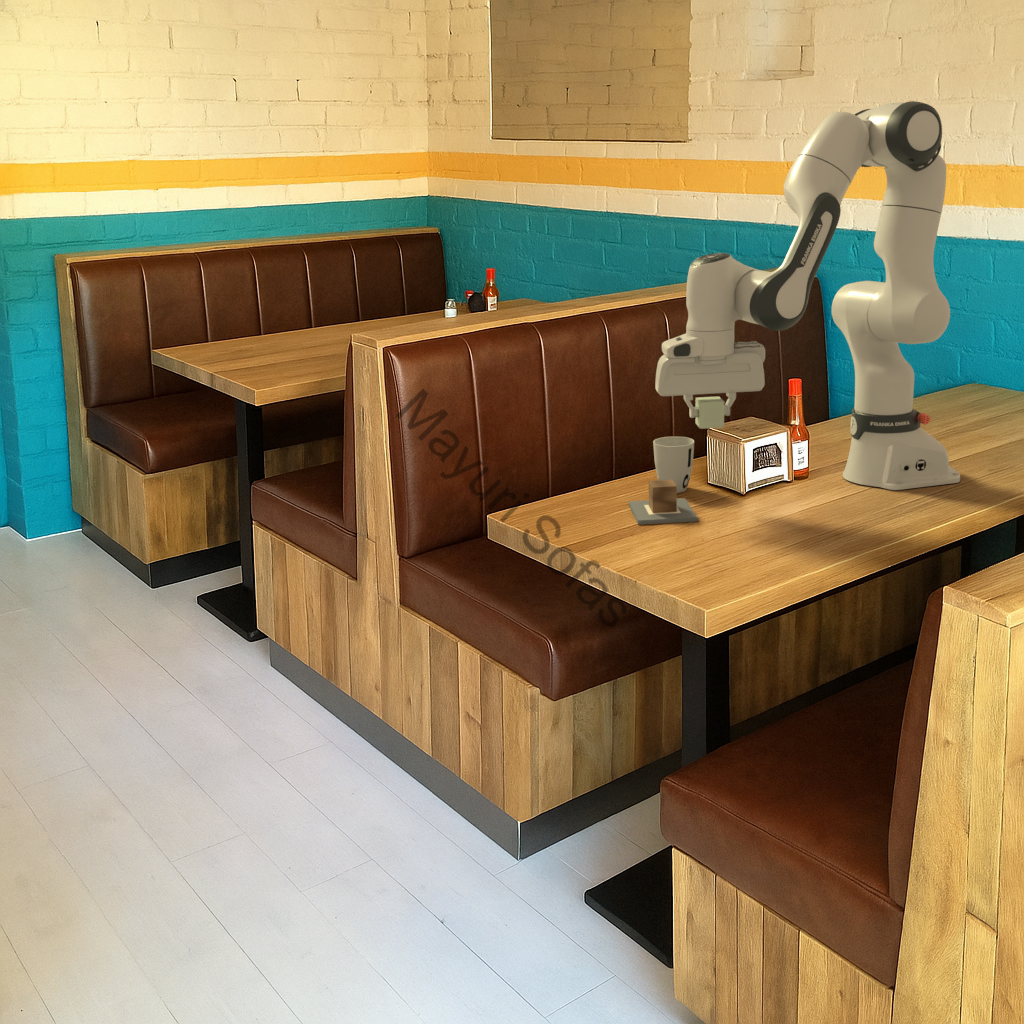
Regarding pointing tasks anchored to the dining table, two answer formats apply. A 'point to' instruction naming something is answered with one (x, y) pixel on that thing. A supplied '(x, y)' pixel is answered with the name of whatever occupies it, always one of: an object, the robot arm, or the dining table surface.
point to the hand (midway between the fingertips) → (709, 416)
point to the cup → (674, 460)
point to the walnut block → (662, 496)
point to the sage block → (710, 412)
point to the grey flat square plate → (647, 517)
